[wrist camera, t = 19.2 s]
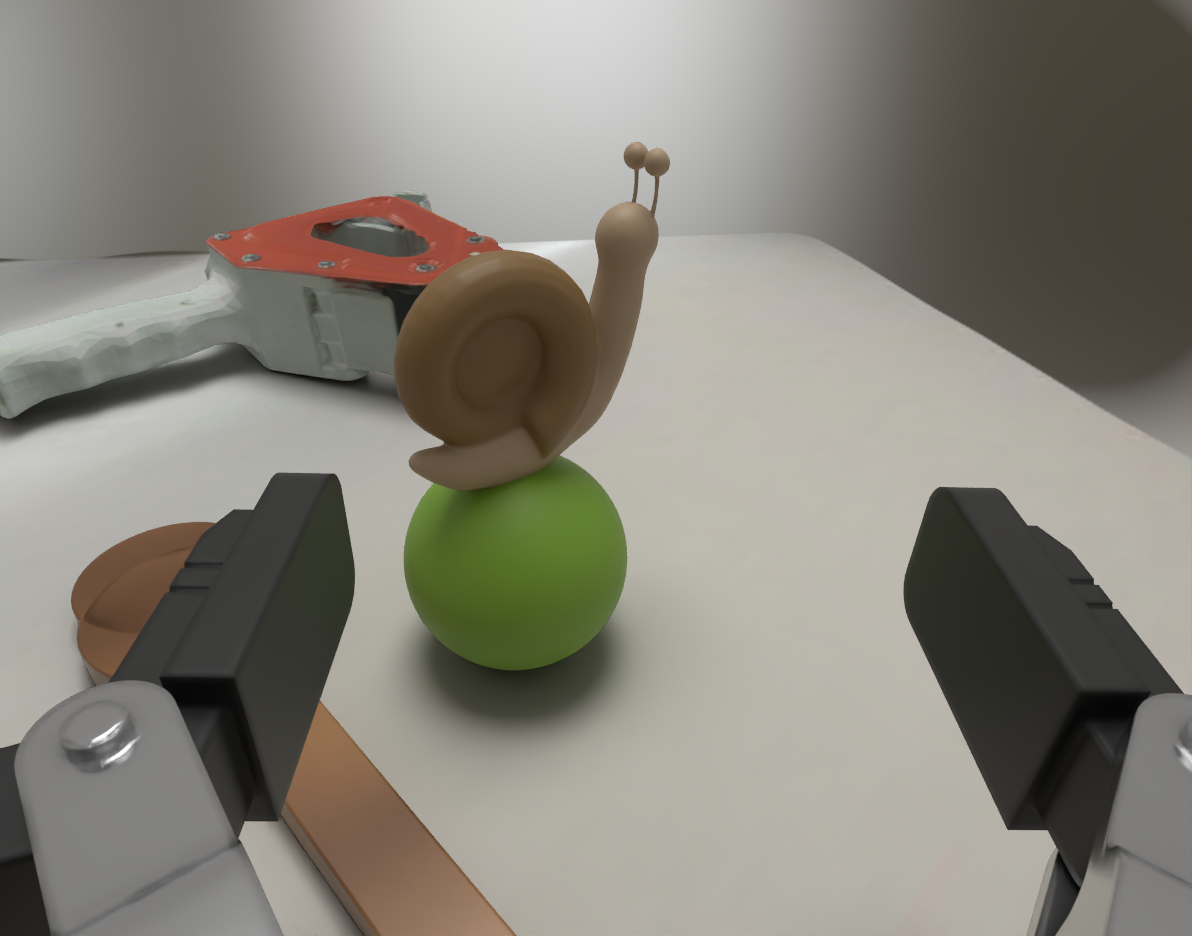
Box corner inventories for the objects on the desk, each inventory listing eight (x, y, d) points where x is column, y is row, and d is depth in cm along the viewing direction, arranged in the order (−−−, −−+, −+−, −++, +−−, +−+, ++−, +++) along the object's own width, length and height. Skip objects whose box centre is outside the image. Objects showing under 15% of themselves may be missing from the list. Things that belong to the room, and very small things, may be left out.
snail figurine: (691, 637, 22) (753, 172, 15) (483, 757, 18) (445, 227, 12) (572, 534, 25) (580, 121, 19) (378, 619, 22) (306, 152, 15)
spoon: (747, 1071, 14) (756, 1044, 13) (497, 1395, 10) (494, 1378, 10) (235, 524, 25) (228, 498, 25) (47, 601, 22) (34, 572, 22)
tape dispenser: (-47, 458, 30) (464, 500, 27) (-126, 328, 27) (439, 357, 24) (216, 274, 45) (575, 286, 41) (182, 174, 41) (568, 178, 38)
